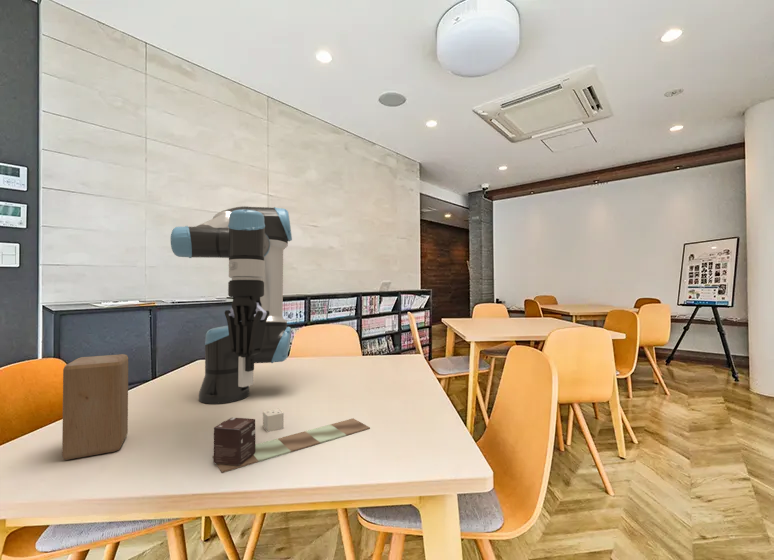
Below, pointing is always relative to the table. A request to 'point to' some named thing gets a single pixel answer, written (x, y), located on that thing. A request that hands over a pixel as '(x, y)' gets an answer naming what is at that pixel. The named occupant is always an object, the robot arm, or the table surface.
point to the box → (234, 441)
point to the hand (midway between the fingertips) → (245, 385)
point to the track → (299, 442)
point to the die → (273, 420)
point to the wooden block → (94, 405)
